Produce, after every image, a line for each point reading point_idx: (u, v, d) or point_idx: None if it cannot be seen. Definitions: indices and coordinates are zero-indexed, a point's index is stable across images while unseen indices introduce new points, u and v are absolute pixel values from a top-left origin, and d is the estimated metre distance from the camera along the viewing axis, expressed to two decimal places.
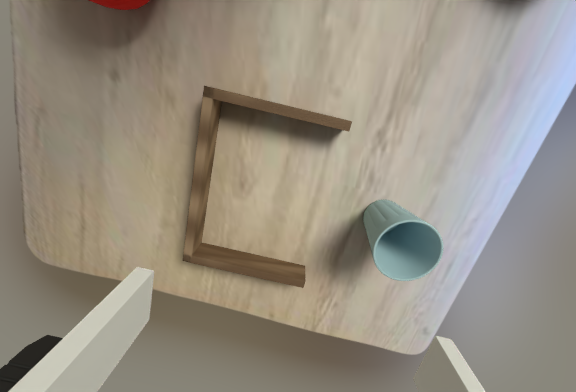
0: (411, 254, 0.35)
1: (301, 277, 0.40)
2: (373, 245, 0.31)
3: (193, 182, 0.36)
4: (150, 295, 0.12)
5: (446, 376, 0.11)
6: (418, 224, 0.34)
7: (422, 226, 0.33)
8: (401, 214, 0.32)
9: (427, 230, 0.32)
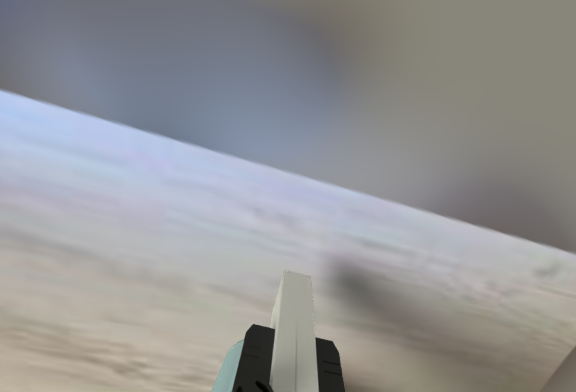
0: None
1: None
2: None
3: None
4: None
5: None
6: None
7: None
8: None
9: None
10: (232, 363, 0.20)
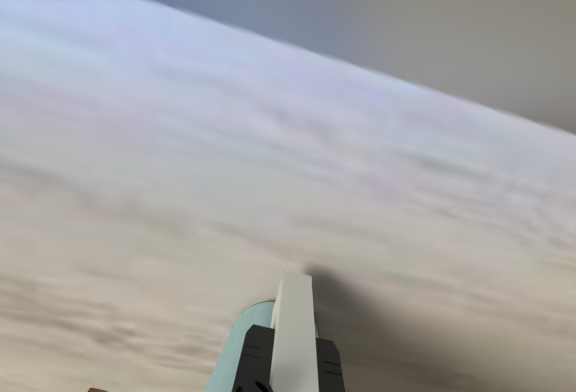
0: None
1: None
2: None
3: None
4: None
5: None
6: None
7: None
8: None
9: None
10: (243, 332, 0.15)
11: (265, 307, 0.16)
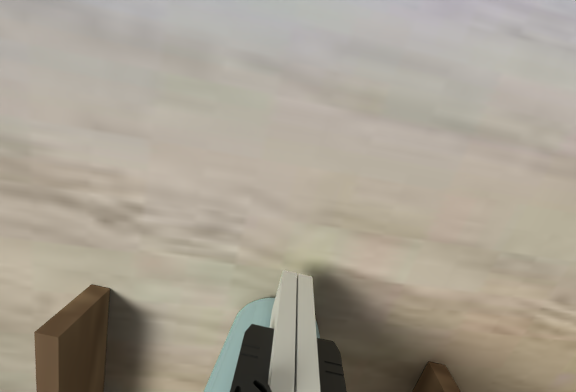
0: None
1: None
2: None
3: None
4: None
5: None
6: None
7: None
8: None
9: None
10: (243, 329, 0.15)
11: (266, 303, 0.16)
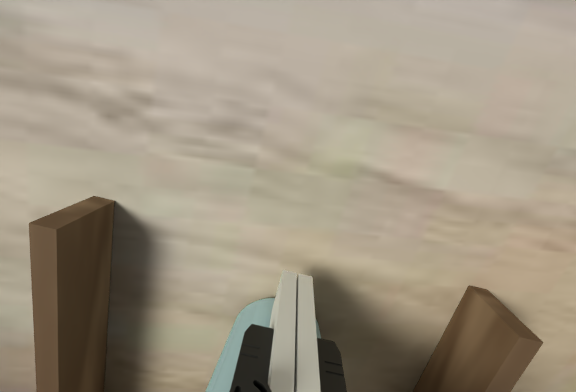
0: None
1: (503, 335, 0.14)
2: None
3: None
4: None
5: None
6: None
7: None
8: None
9: None
10: (244, 329, 0.15)
11: (266, 303, 0.16)
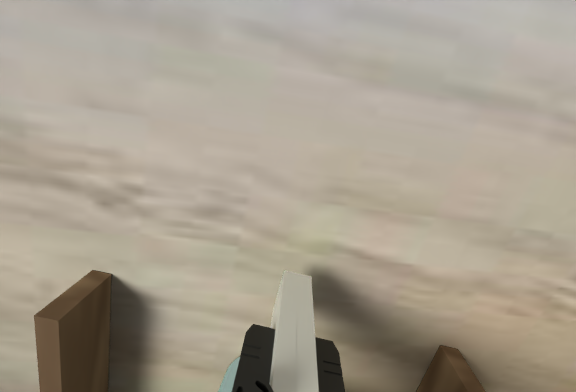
0: None
1: None
2: None
3: None
4: None
5: None
6: None
7: None
8: None
9: None
10: (232, 383, 0.17)
11: None
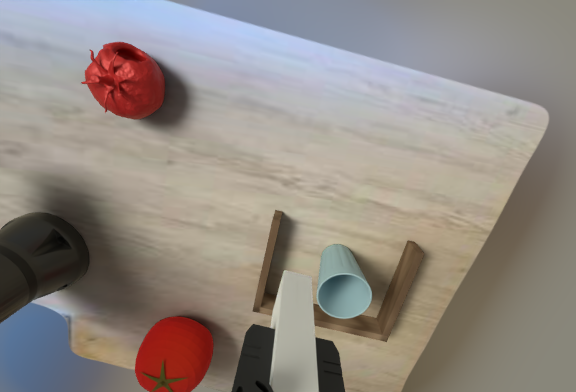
0: None
1: (414, 253, 0.43)
2: None
3: (319, 326, 0.48)
4: None
5: None
6: None
7: None
8: None
9: None
10: (329, 251, 0.45)
11: (334, 245, 0.47)
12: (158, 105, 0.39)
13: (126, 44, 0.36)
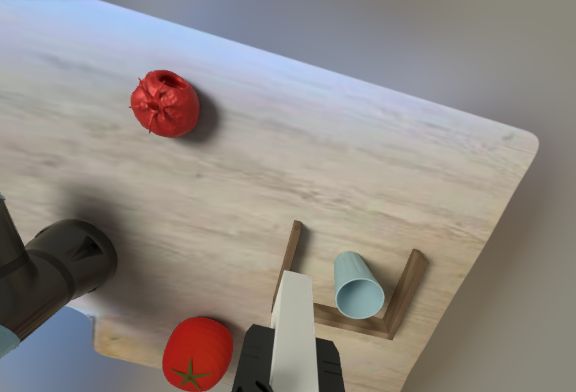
0: None
1: (419, 260, 0.48)
2: None
3: (332, 326, 0.53)
4: None
5: None
6: None
7: None
8: None
9: None
10: (342, 258, 0.50)
11: (346, 252, 0.52)
12: (194, 126, 0.43)
13: (168, 72, 0.40)
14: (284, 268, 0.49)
